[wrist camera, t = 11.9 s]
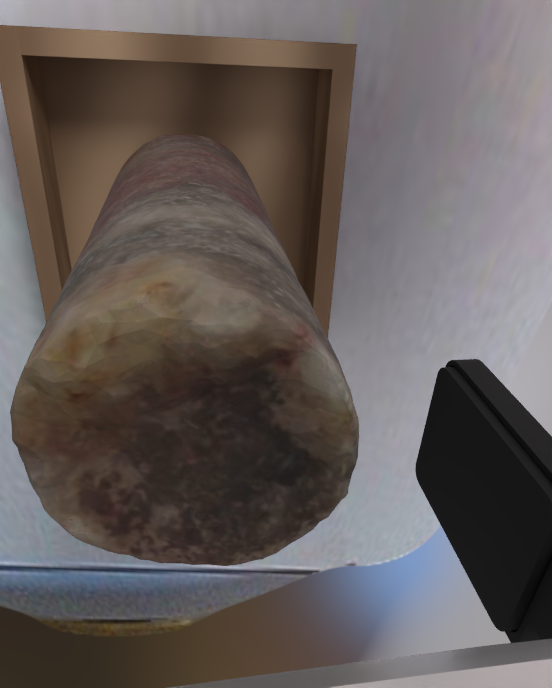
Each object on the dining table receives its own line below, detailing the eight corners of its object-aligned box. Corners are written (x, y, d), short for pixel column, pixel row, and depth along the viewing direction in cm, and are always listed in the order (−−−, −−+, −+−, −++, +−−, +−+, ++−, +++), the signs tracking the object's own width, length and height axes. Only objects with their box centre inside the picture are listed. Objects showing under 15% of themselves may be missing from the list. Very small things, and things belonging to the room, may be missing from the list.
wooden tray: (336, 46, 25) (356, 44, 22) (312, 332, 33) (325, 359, 30) (14, 29, 23) (-11, 24, 20) (68, 341, 31) (56, 372, 28)
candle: (221, 293, 30) (273, 610, 13) (94, 245, 27) (-59, 556, 10) (277, 169, 27) (446, 357, 10) (142, 104, 25) (44, 197, 7)
